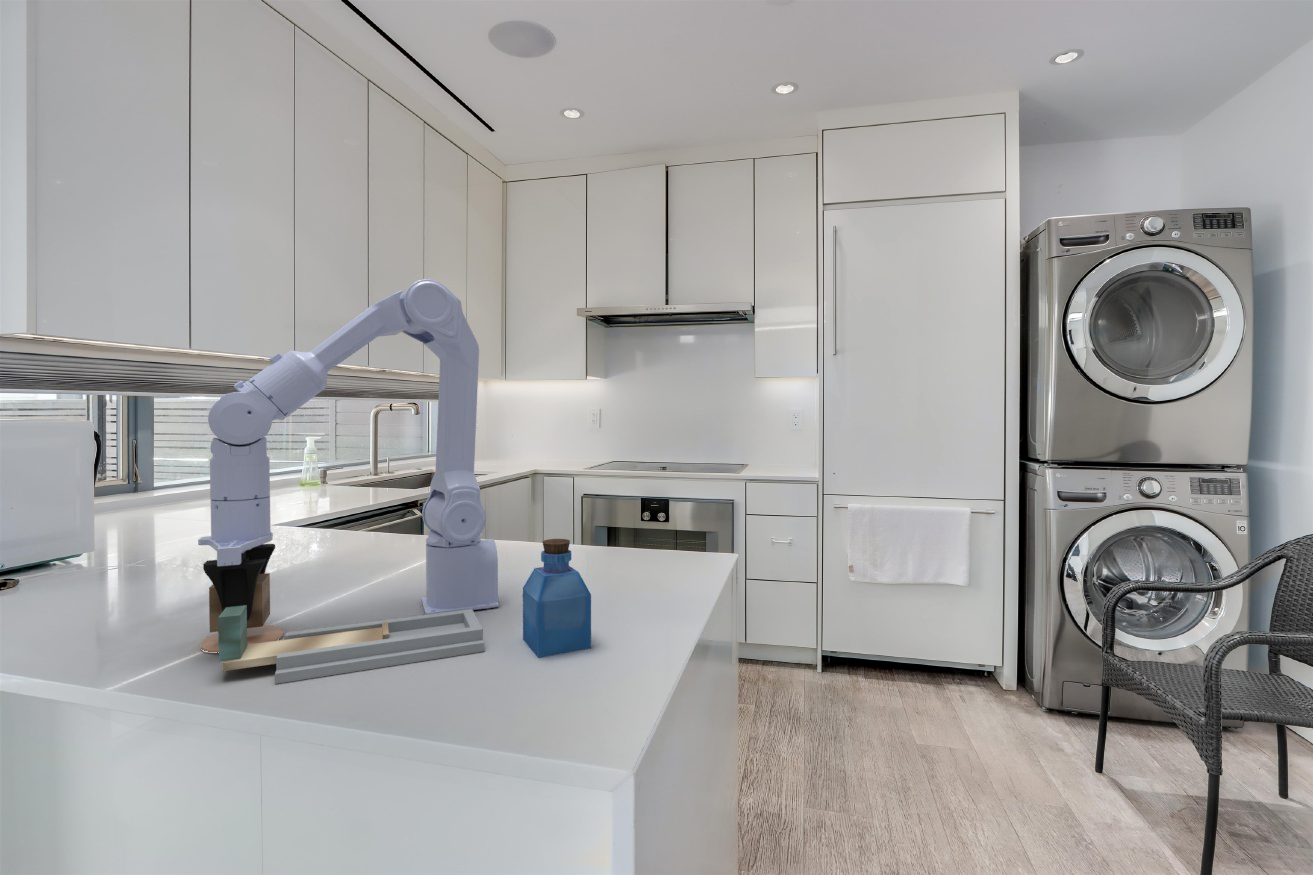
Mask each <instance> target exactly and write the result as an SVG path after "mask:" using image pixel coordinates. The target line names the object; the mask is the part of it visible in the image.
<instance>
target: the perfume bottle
mask: <svg viewBox="0 0 1313 875" xmlns="http://www.w3.org/2000/svg"><path fill="white" fill-rule="evenodd" d="M570 544H571V540H570V539H566V538H550V539H544V540H543V541H542V546H543V550H542V551H541V552H540V561H541V562H542V563H543V566H541V567H534V568H533V570H532V572H531V573H530V575H529V577H528V579H527V580H526V581H525V582H524V583H525V584H524V585H523V587H522V641H524V643H525V644H526V646H528V648H529V649H530V650H531V652H532V653H533V654H534V655H535V656H536V657H537V659H539V658H544V657H545V658H546V657H550V656H556V655H562V654H568V653H572V652H578V651H583V650H589V649H592V594H591V591H589V588H588V586H587V584H586V583H585V581H584V579H583V577H582V575H581V574H580V572H579V571H578V570H576V569H575V568H574V567H572V566H570V562H571V561H572V551H571V550H570V549H569V548H570Z"/></svg>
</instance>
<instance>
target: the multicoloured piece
mask: <svg viewBox="0 0 1313 875" xmlns="http://www.w3.org/2000/svg"><path fill="white" fill-rule="evenodd" d="M217 633H218V637H219V654H218V662H222V663H221V664H222V672H227V671H233V670H241V669H247V668H254V667H262V666H269V665H276V657H277V655H278V654H281V653H288V652H295V651H303V650H310V649H317V648H324V647H332V646H339V645H346V644H353V643H361V642H368V641H375V640H382V639H389V631H388V622H382V627H379V628H372V629H364V630H356V631H348V632H341V633H333V634H325V635H318V636H310V637H302V638H295V639H287V640H285V639H280V640H278V641H271V642H264V643H256V644H248V645H247V605H244V606H234V607H226V608H225V609H224V611H223V612H222V613H221V615H220V616H219V617H218V632H217Z"/></svg>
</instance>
